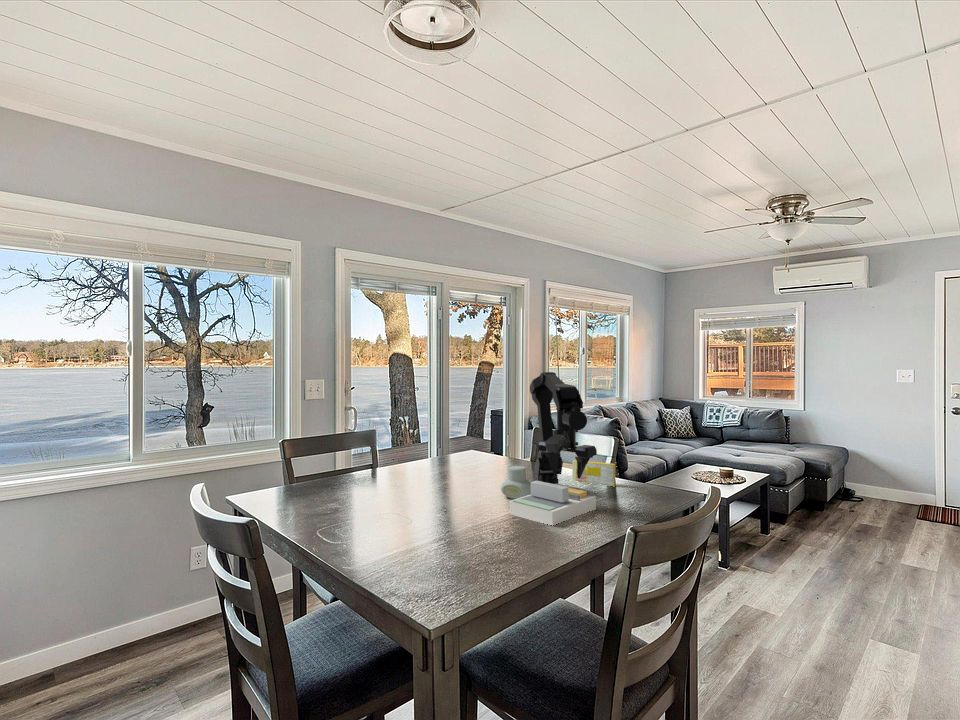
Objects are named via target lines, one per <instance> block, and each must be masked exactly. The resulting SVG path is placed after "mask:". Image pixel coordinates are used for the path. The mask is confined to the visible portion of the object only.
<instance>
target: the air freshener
mask: <svg viewBox="0 0 960 720" xmlns="http://www.w3.org/2000/svg"><path fill="white" fill-rule="evenodd" d="M526 472H527V471H526V467H525V466H522V465H521V466H520V465H512V466H509V467H508V469H507V478H508V479H506V480H504V481H502V483H501V485H500V491H501V493H502V495H504V496H505V497H506V498H509V499H511V500H514V499H517V498H521V497H524V496H527V495H531V481H529V480H528V479H527V478H526V477H527V476H526V475H527V473H526Z"/></svg>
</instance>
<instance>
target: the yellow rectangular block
mask: <svg viewBox="0 0 960 720" xmlns="http://www.w3.org/2000/svg"><path fill="white" fill-rule="evenodd" d="M568 489H569V493H572V494H576V495H580V498H583V497H585V496H587V491H583V490H578V489H574V488H569V487H568Z"/></svg>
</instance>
